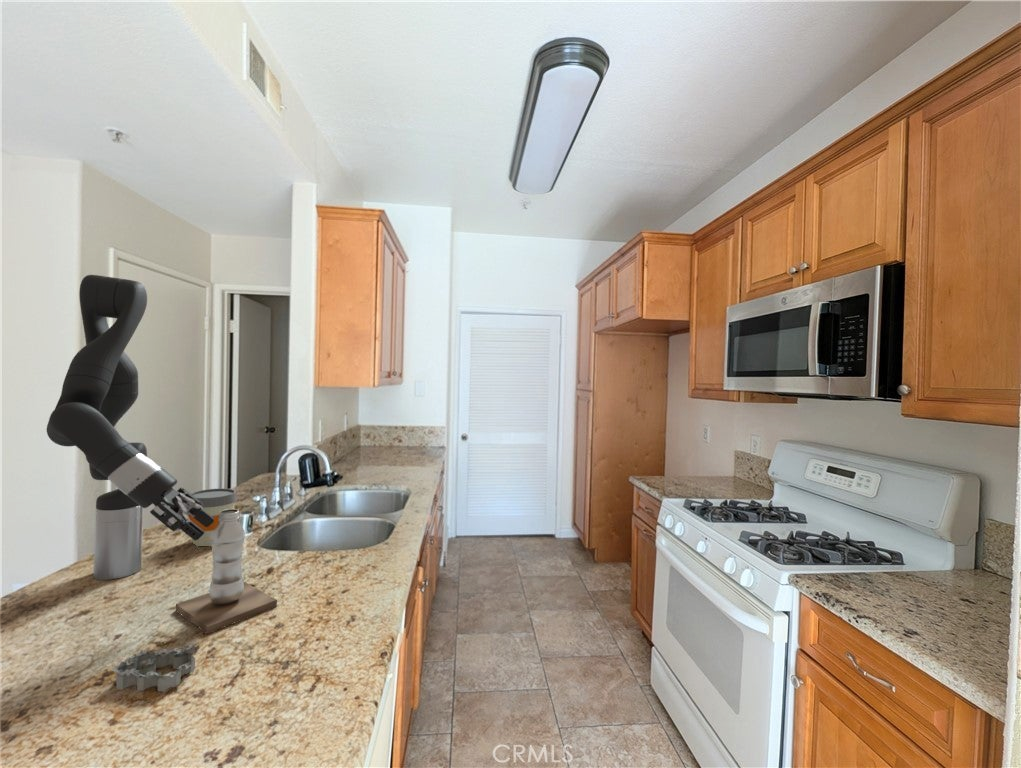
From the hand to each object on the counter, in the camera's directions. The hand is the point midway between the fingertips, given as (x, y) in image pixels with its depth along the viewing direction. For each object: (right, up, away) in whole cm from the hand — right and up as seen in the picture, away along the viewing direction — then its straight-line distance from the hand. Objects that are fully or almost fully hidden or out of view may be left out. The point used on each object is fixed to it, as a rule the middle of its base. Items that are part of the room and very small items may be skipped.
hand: (206, 530), depth 97 cm
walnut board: (+4, -18, +1) cm, 18 cm away
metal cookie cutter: (+6, -19, -21) cm, 29 cm away
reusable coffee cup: (-26, -17, +40) cm, 51 cm away
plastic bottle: (+3, -17, +2) cm, 17 cm away
